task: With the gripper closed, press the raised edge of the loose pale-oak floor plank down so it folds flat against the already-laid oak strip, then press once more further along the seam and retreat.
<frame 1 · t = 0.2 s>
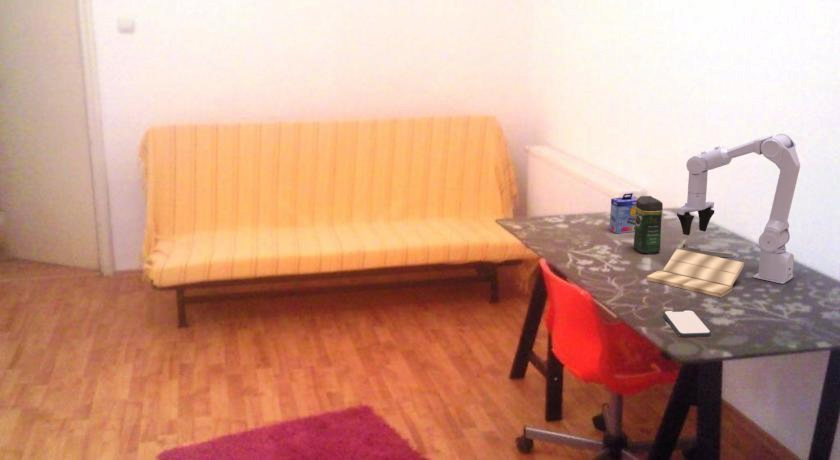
hand: (694, 232, 288), 10 cm above the table, tool pointing down, fingers open, 7 cm apart
laid strip: (688, 285, 270), on the table
smartphone with white screen: (686, 327, 240), on the table
caliper: (707, 260, 294), on the table
ink cartridge box: (624, 231, 327), on the table
loose plank: (702, 267, 275), point 3 cm above the table, hinge at 30.0°
coffee jar: (646, 250, 304), on the table
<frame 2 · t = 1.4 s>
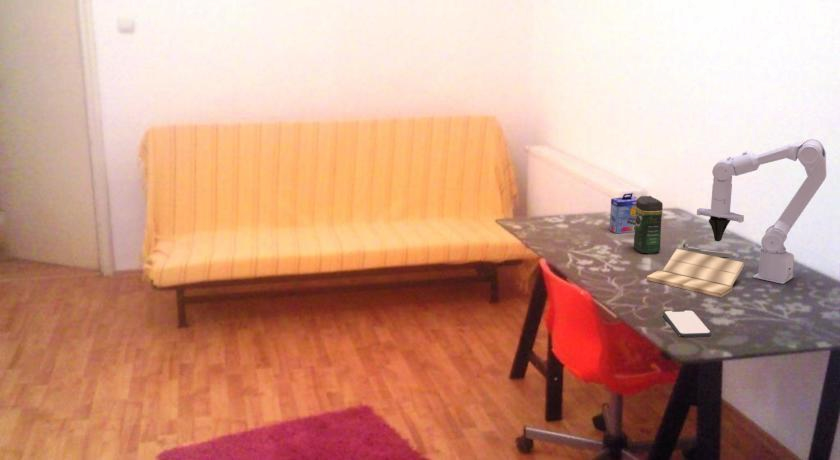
hand: (718, 240, 280), 10 cm above the table, tool pointing down, fingers closed
nothing on the table moved.
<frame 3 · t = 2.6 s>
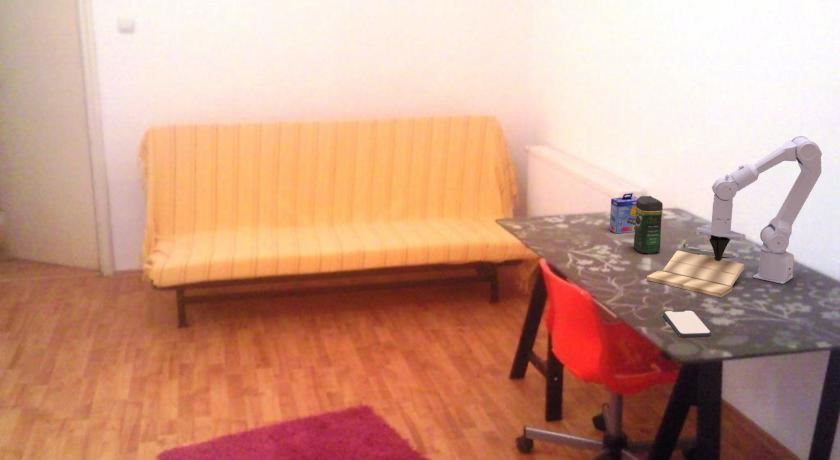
hand: (718, 259, 275), 5 cm above the table, tool pointing down, fingers closed, pressing on loose plank
loose plank: (703, 268, 275), point 3 cm above the table, hinge at 25.8°, touching gripper
everything else where it was.
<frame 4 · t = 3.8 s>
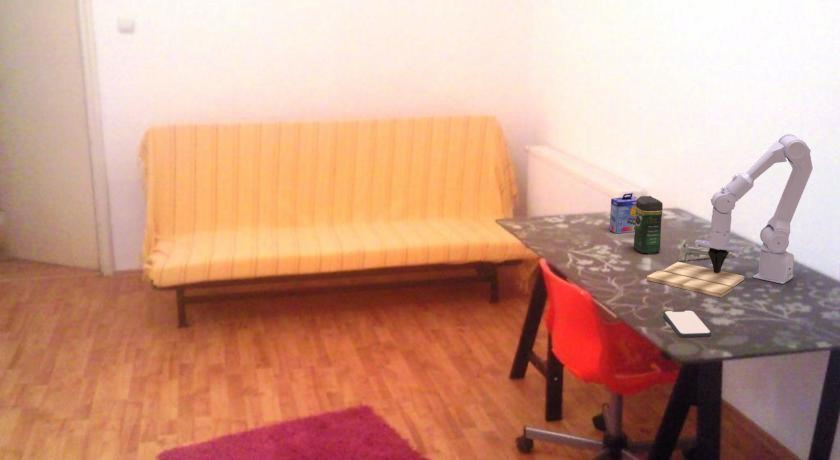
hand: (717, 272, 276), 1 cm above the table, tool pointing down, fingers closed, pressing on loose plank
loose plank: (702, 274, 276), point 1 cm above the table, hinge at 1.7°, touching gripper
everything else where it was.
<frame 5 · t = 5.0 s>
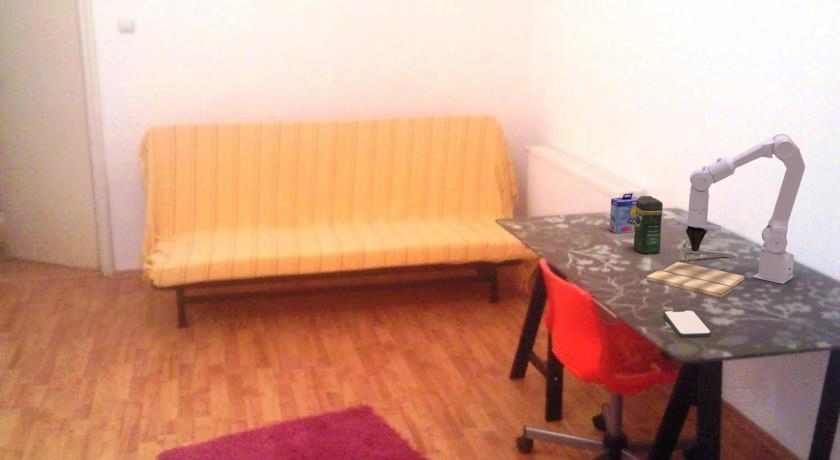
hand: (695, 250, 278), 7 cm above the table, tool pointing down, fingers closed
loose plank: (702, 274, 276), point 1 cm above the table, hinge at 1.7°
everything else where it was.
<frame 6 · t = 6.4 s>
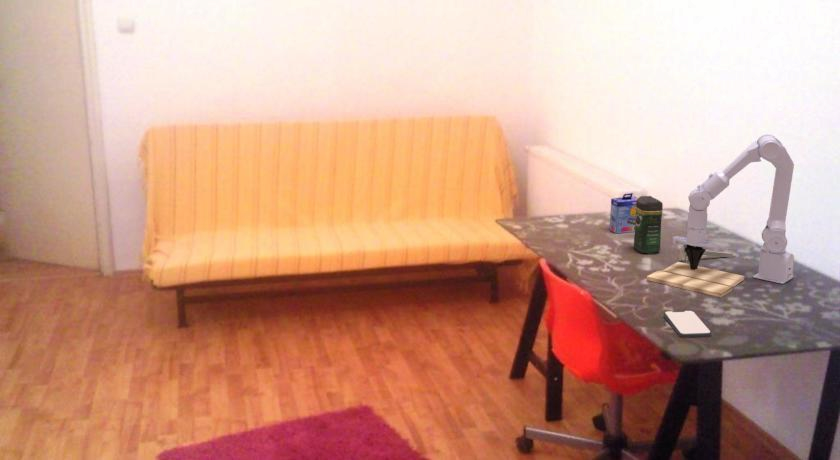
hand: (693, 268, 280), 1 cm above the table, tool pointing down, fingers closed, pressing on loose plank
loose plank: (702, 274, 276), point 1 cm above the table, hinge at 1.7°, touching gripper
everything else where it was.
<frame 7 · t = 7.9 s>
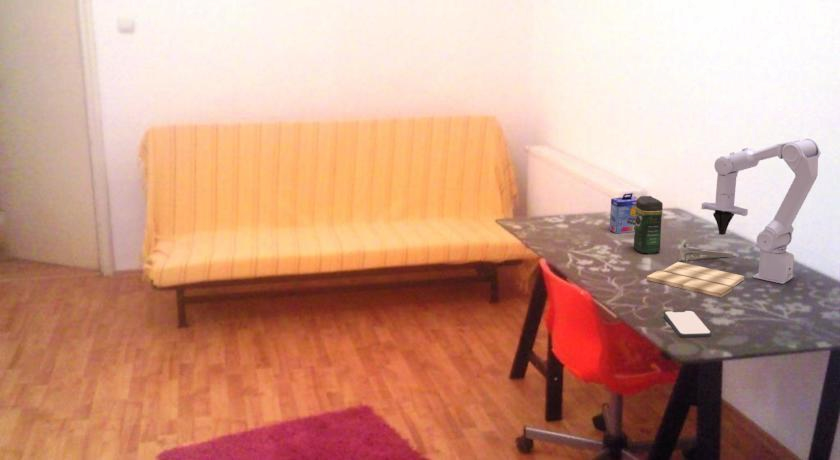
hand: (722, 233, 287), 10 cm above the table, tool pointing down, fingers closed
loose plank: (702, 274, 276), point 1 cm above the table, hinge at 1.7°
everything else where it was.
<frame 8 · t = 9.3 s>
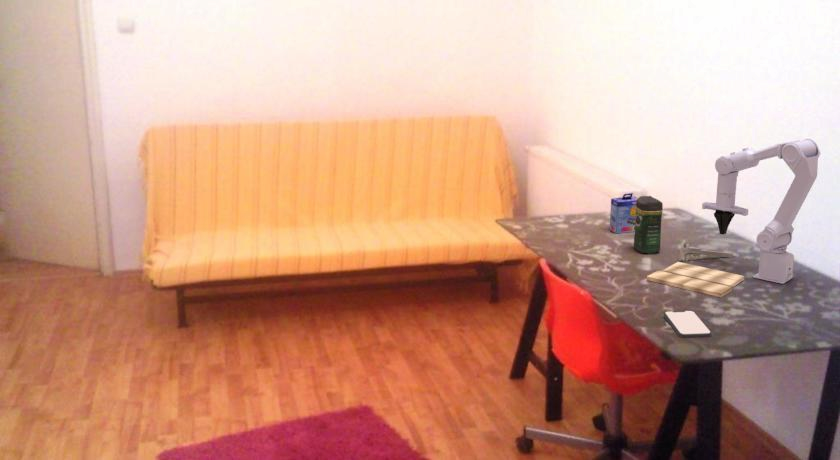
hand: (722, 233, 287), 10 cm above the table, tool pointing down, fingers closed
nothing on the table moved.
at the end: loose plank at +2° (first picture: +30°); the gripper is holding nothing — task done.
